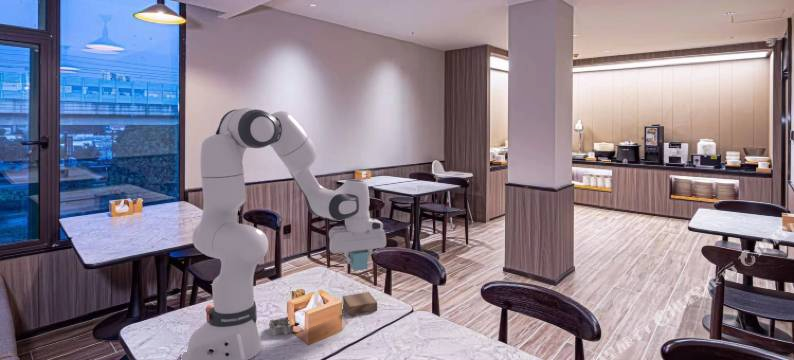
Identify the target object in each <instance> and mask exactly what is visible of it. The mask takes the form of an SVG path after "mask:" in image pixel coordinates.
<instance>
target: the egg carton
mask: <svg viewBox="0 0 794 360" xmlns="http://www.w3.org/2000/svg"><path fill="white" fill-rule="evenodd" d="M288 321H289V320H288V316H285V317H280V318H277V319H276V318H275V319H270V321H269V323H268V327H269V335H272V336H277V335H279V334H283V333H284V334H283V335H288V334H289V333H293V332H292V331H293V326H295V325H296V324H295V325H291V326H290V325H288ZM278 333H279V334H278Z"/></svg>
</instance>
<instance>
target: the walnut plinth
mask: <svg viewBox="0 0 794 360" xmlns="http://www.w3.org/2000/svg"><path fill="white" fill-rule="evenodd" d="M342 304H343V306H344V308H345V309H346V311H347V313H348V314H349V315H350V316H352V315H358V314H363V313H370V312H374V311H378V301H377V300H376V299H375V297H374V296H373V295H372V293H370V291H369V292H368V291H367V292H362V293H360V292H359V293H355V294H348V295H343V296H342Z"/></svg>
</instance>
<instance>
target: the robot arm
mask: <svg viewBox="0 0 794 360" xmlns="http://www.w3.org/2000/svg"><path fill="white" fill-rule="evenodd" d="M268 146H270V147H271V148H272V149H273V151H274V152H275V154H276V155H277V157H279V159H280V160H281V162H282V163H283V164H284V166H286V168H287V170H288V172H289V174H290V176H291V177H292V178H293V180H294V182H295V183H296V184H297V186H298V188H299V189H300V191H301V193H302V194H303V196H304V199H305V203H306V205H307V206H306V207H307V209H308V211H309V213H310V214H312V215H313V216H316V217H322V218H326V219H329V220H332V221H333V220H334V221H344V225H339V226H332V227H331V228H329V230H328V238H329V251H330V253H332V254H334V255H335V254H342V253H343V255H344V256H345V258H346V260H347V261H346V262H347V265H349V264H351V263H352V258H350V252H352V251H360V250H365V251H367V262H370V261H371V256H372V254H373V251H374V250H375V249H382V248H385V247H386V246H387V235H386V231H385V230H384V229H383V228H384V223H383V222H382V221H380V220H379V219H376V218H371V214H370V211H369V209H370V208H369V207H370V203H371V202H370V191H369V190H370V189H369V186H368V183H367V182H366V180H365V181H364V179H363V180H361V179H356V178H355V179H354V178H348V179H346V180H345V181H344V183H343V184H341V186H339V187H338V188H337V189H335V190H332V189H328V188H326V187H324V186H322V185H321V184H320V182H318V180H317V178H316V177H315V174H314V173H313V172H312V170H311V168H310V167H311V166H312V165H313V164H314V162H315V160H316V158H317V154H318V153H317V148H316V146H315V144H314V142H313V141H312V139H311V137H310V136H309V135H308V133H307V132H306V131H305V129H304V128H303V127H302V125H301V124H299V122H298V121H297V120H296V119H295V117H293V116H292V115H291V114H290V113H289V112H286V111H283V110H282V111H276V112H273V113H272V114H270V113H269V112H268V111H265V110H262V109H253V108H247V107H246V108H238V109H232V110H230V111H228V112H226V113H225V114H223V116H222V118H221V119H220V122H219V125H218V127H217V130H216V132H215V134H213V135H210V136H208V137H206V138H205V139H204V140H203V141H202V144H201V148H200V149H201V150H200V164H199V165H200V177H201V187H202V188H201V189H202V198H203V205H202V207H203V210H202V215H201V219H200V221H199V224H198V225H197V226H196V227H195V229H194V230H193V232H192V244H193V246H194V247H195V249H196V250H197V251H198V252H200V253H202V254H203V255H205V256H207V257H210V258H214V259H219V260H220V263H221V264H220V265H221V267H220V270H219V271H220V272H219V274H218V275H217V276H216V277H215V278H214V280H213V281H212V284H211V289H212V303H213V305H211V304H210V305H209V304H208V305H207V306H206V307H205V313H206V322H205V323H203V324H202V325H201V326H200V327H198V328H197V329H196V330H194V332H193V333H192V334H191V335H190V338H189V341H188V344H187V347H186V348H184V350H186V349H187V348H188V349H187V352H184V353H183V352H182V353H183V355H182V357H181V356H180V357H181V359H182V360H248V359H249V360H251V359H253V358H255V357H257V355H258V354H260V353H261V351H262V350H263V347H264V345H263V342H262V341H261V337H260V334H259V330H258V327H257V319H258V312H257V305H256V301H255V298H254V295H255V294H254V275H255V272H256V267H257V265H258V263H259V262H260V261H262V259H264V258H265V256H266V255H267V252H268V248H269V240H268V237H267V235H266V233H265V232H264V231H262V230H260V229H259V228H257V227H255V226H253V225H250V224H245V223H239V222H238V212H239V209H240V207H242V205H244V204H245V202H246V200H247V195H246V194H247V193H246V183H245V173H244V172H245V171H244V165H243V159H244V154H245V151H246V150H247V149H262V148H265V147H268ZM254 356H255V357H254ZM181 359H180V358H179V360H181Z"/></svg>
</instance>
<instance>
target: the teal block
mask: <svg viewBox="0 0 794 360" xmlns="http://www.w3.org/2000/svg"><path fill="white" fill-rule="evenodd" d="M367 254H368V251H367V250H360V251H352V252H349V258H352V263H351V264H350V265H349V266H350V269H352V270H353V271H354V272H355V271H356V272H357V271H363V270H368V269H369V268H368V267H369V266H368V261H367Z"/></svg>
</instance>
